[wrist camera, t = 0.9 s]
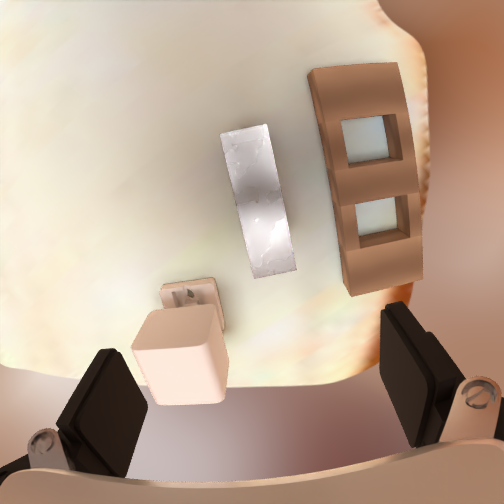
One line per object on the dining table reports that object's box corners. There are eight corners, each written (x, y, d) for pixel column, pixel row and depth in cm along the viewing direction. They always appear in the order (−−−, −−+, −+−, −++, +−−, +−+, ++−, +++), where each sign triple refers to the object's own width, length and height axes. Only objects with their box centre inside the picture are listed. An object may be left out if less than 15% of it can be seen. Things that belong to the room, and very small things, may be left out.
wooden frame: (307, 75, 25) (312, 68, 22) (384, 68, 24) (397, 62, 21) (343, 282, 31) (351, 296, 28) (410, 267, 31) (422, 279, 28)
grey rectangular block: (229, 135, 27) (219, 134, 19) (263, 128, 26) (266, 123, 19) (254, 242, 30) (254, 278, 22) (286, 235, 30) (296, 270, 22)
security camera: (176, 341, 34) (154, 405, 25) (158, 285, 32) (124, 341, 22) (232, 335, 34) (224, 403, 24) (218, 276, 31) (203, 335, 22)
